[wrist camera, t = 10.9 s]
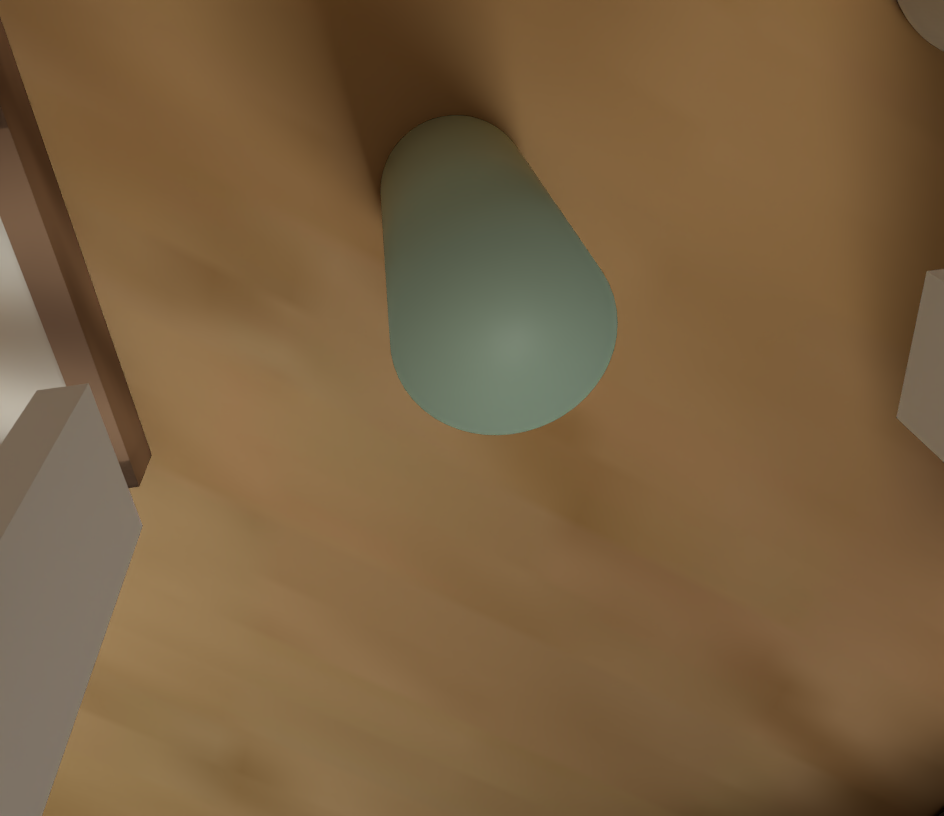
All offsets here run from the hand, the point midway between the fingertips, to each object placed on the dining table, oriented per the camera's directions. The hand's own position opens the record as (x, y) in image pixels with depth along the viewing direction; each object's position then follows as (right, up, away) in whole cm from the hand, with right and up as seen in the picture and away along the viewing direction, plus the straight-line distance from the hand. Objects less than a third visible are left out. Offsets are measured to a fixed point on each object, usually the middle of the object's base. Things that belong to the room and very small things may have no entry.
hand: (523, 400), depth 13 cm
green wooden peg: (-1, +6, +11) cm, 13 cm away
